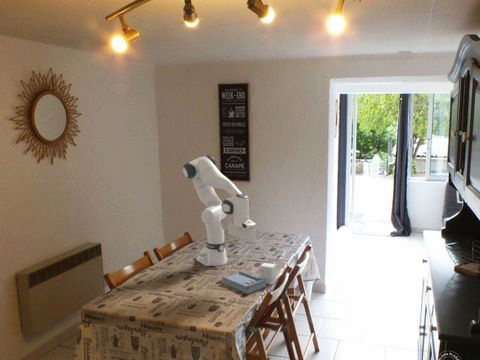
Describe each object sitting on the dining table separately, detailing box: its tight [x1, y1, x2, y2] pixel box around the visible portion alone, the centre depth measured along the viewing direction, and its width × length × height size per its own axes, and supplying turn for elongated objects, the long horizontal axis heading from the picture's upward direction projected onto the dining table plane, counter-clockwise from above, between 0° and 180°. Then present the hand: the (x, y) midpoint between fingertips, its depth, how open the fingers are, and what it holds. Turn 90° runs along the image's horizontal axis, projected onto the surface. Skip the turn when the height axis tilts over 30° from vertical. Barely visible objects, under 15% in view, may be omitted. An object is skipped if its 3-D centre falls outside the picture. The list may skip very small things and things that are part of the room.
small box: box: [259, 262, 278, 286], centre depth 246 cm, size 8×6×10 cm
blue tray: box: [221, 270, 267, 294], centre depth 243 cm, size 22×14×4 cm, turn 42°
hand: (241, 245), depth 244 cm, fingers closed
